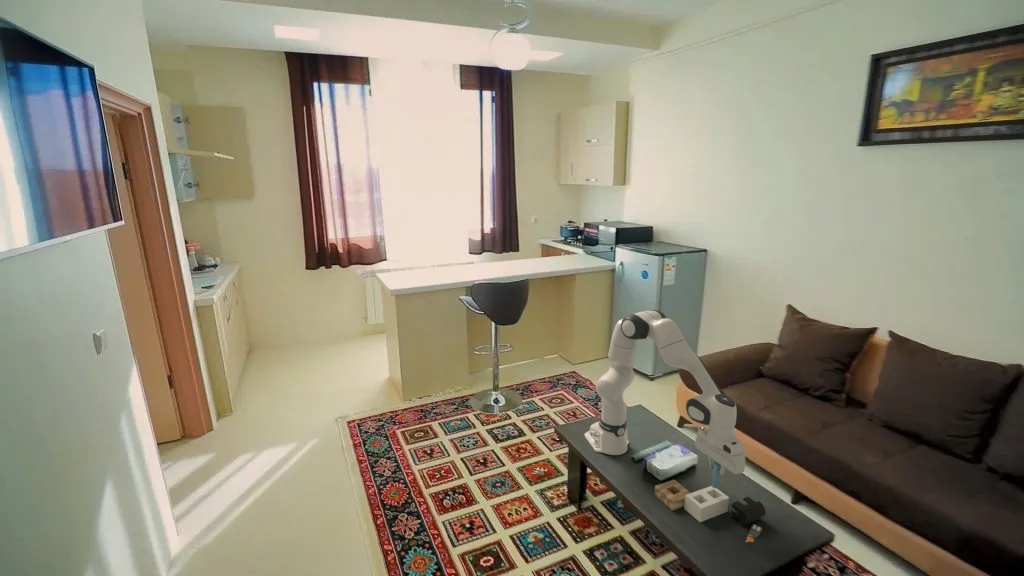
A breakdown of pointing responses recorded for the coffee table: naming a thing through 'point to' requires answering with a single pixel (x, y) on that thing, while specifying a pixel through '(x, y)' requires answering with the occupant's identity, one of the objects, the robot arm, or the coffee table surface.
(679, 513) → the coffee table surface
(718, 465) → the pin
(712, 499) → the white cinder block
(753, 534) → the key chain
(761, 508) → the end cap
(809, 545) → the coffee table surface
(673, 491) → the mount block
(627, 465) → the coffee table surface
